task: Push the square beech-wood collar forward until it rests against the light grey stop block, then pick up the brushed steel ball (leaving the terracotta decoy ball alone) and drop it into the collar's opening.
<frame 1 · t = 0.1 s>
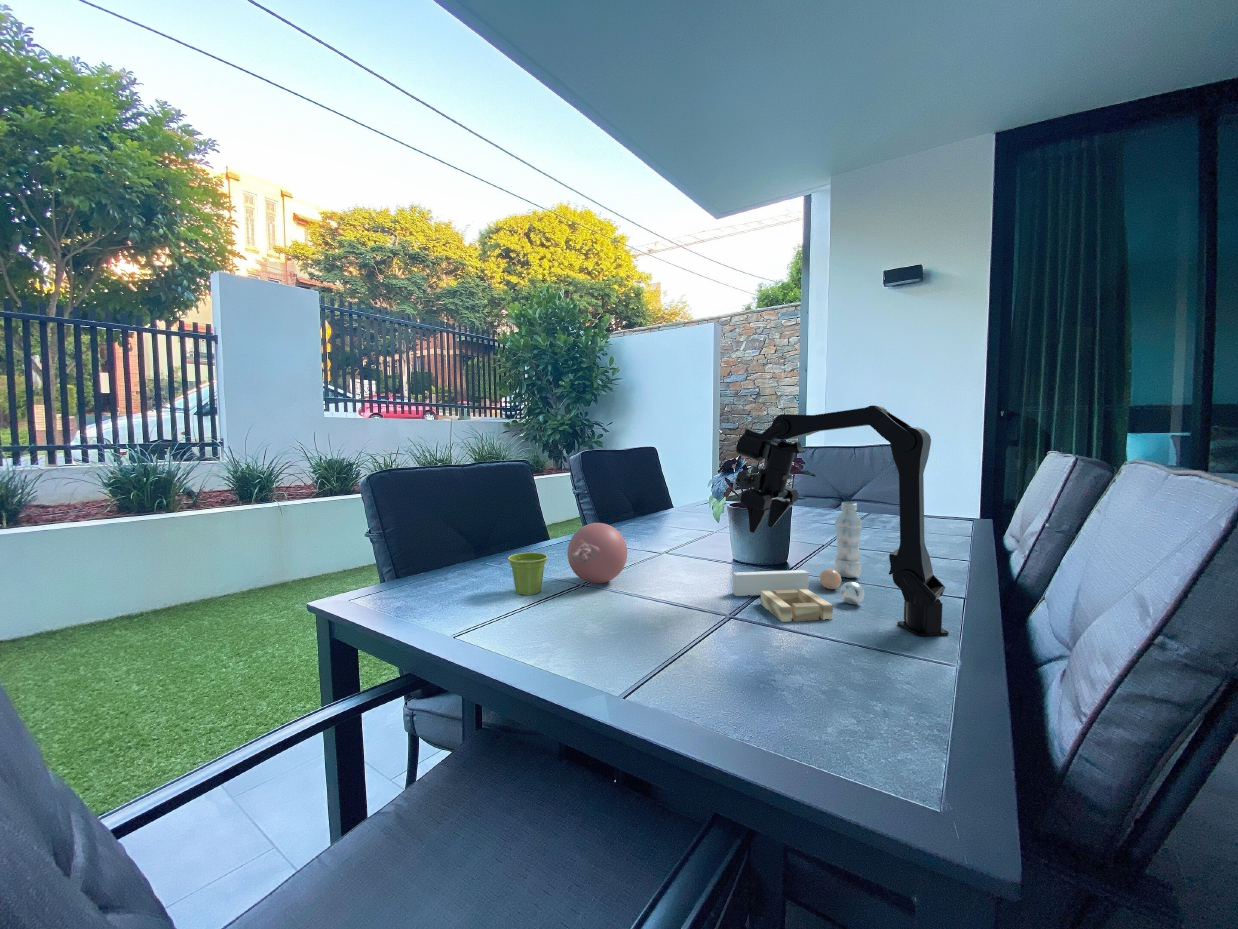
hand: (761, 529, 123), 15 cm above the table, tool pointing down, fingers open, 9 cm apart
plastic bottle: (847, 577, 137), on the table
balloon: (592, 585, 131), on the table
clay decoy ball: (830, 578, 127), point 2 cm above the table
steel ball: (852, 592, 116), point 2 cm above the table
plant pot: (528, 592, 125), on the table
beech collar: (794, 611, 111), on the table
stop block: (770, 593, 124), on the table
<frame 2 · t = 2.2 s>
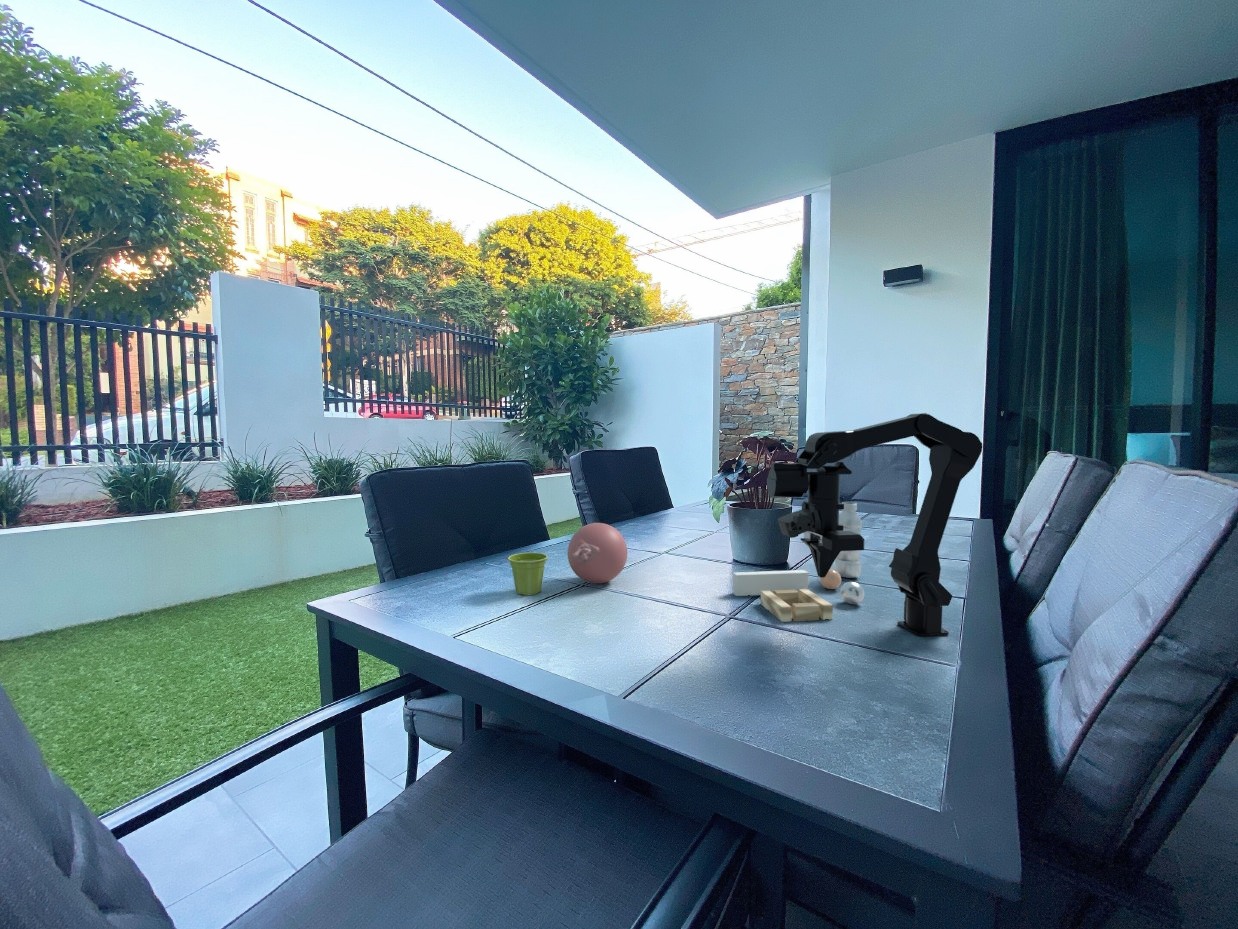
hand: (821, 576, 100), 11 cm above the table, tool pointing down, fingers closed
nothing on the table moved.
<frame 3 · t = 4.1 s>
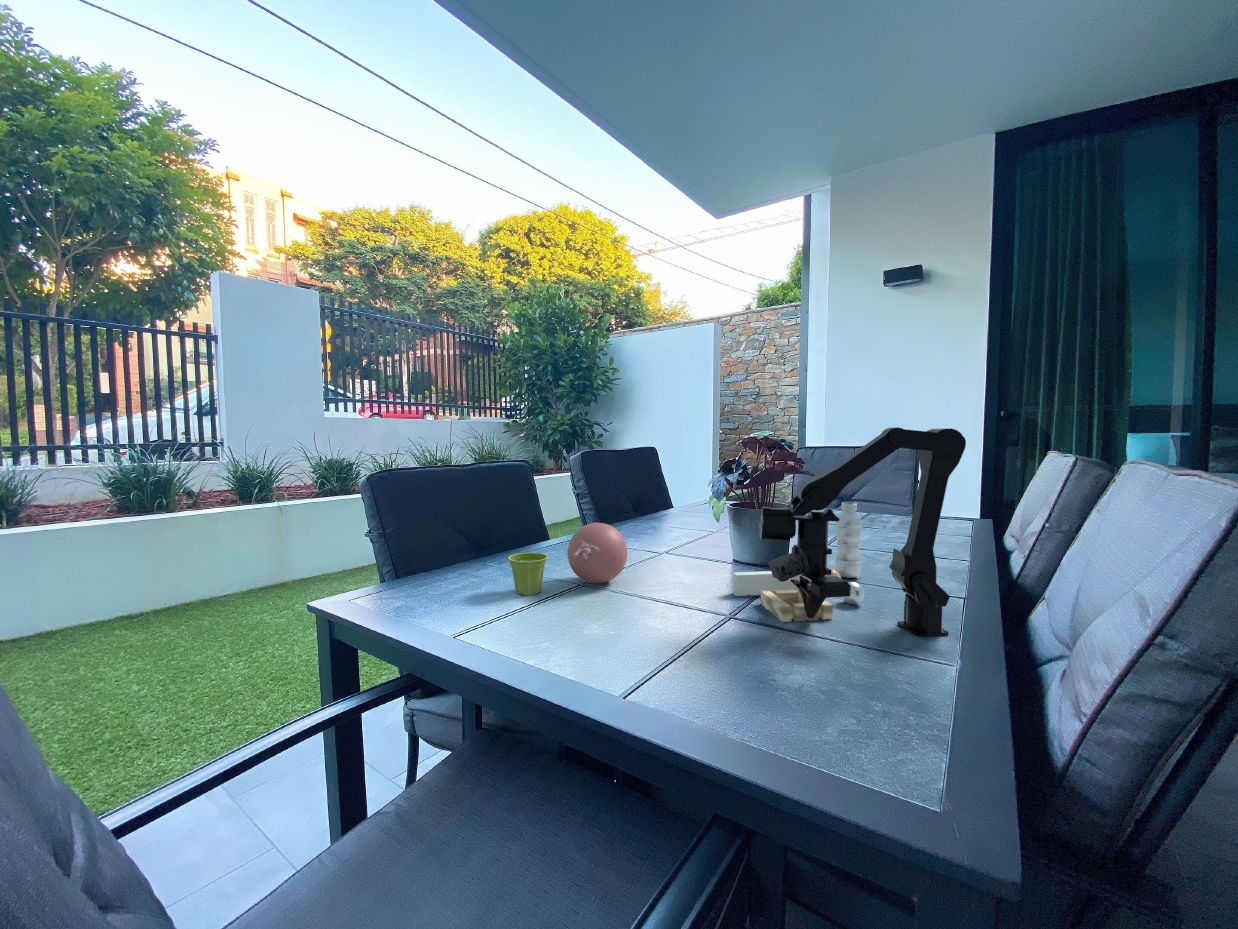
hand: (810, 617, 105), 1 cm above the table, tool pointing down, fingers closed
beech collar: (794, 611, 111), on the table, touching gripper
everything else where it was.
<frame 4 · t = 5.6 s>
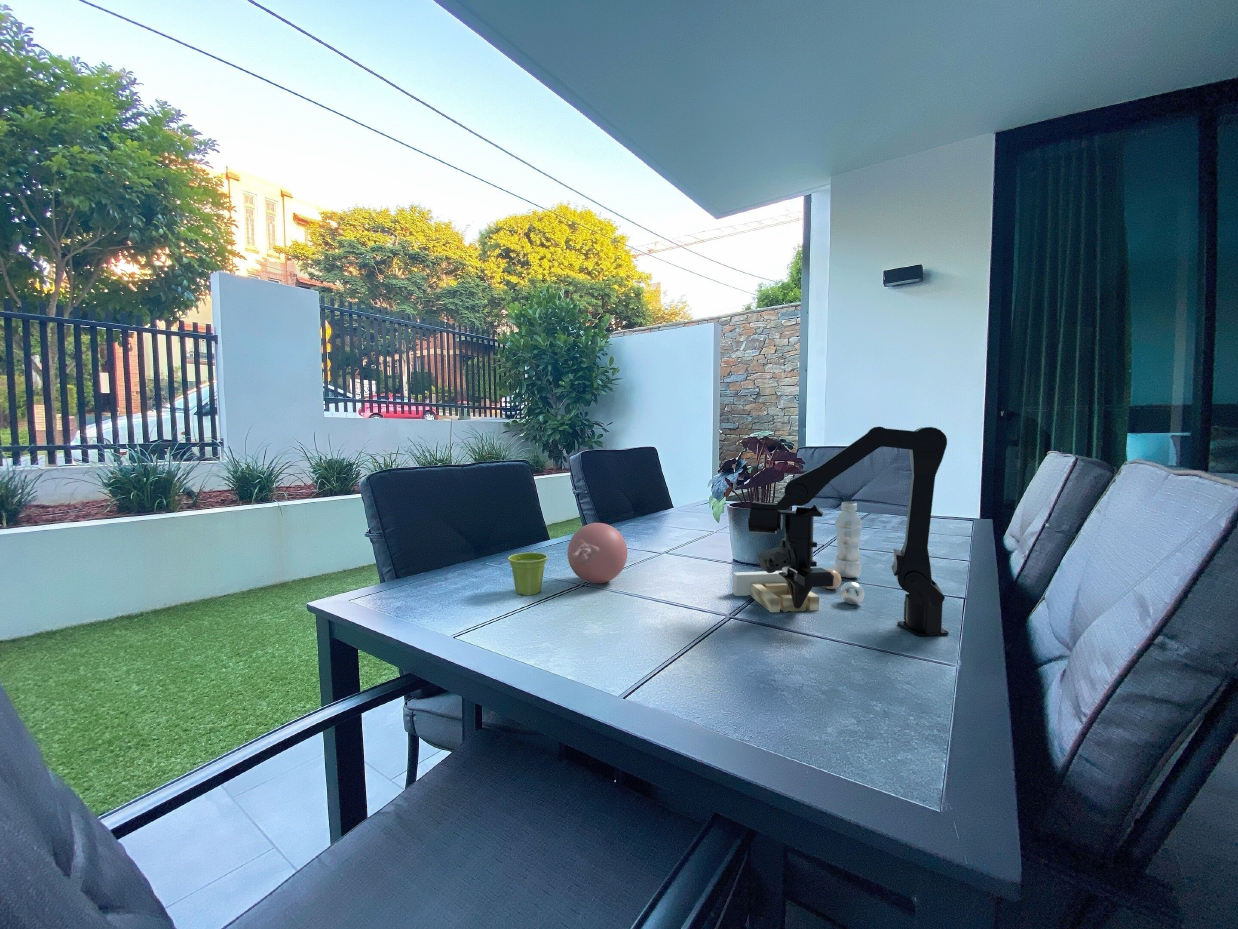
hand: (797, 608, 110), 1 cm above the table, tool pointing down, fingers closed
beech collar: (783, 602, 117), on the table, touching gripper
everything else where it was.
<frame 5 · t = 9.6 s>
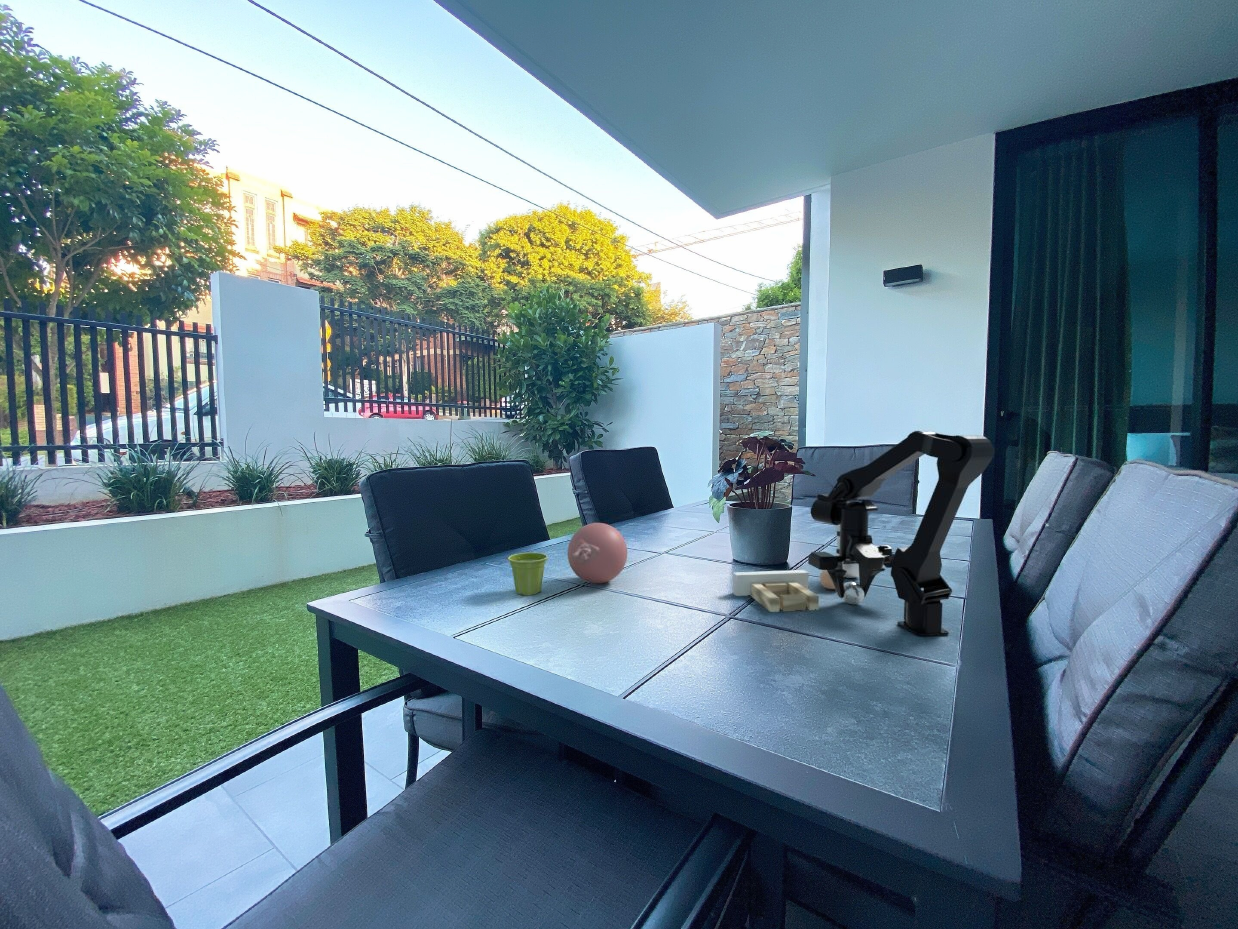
hand: (851, 597, 116), 2 cm above the table, tool pointing down, fingers closed on steel ball, 5 cm apart
steel ball: (852, 593, 116), point 2 cm above the table, touching gripper
beech collar: (783, 602, 117), on the table
everything else where it was.
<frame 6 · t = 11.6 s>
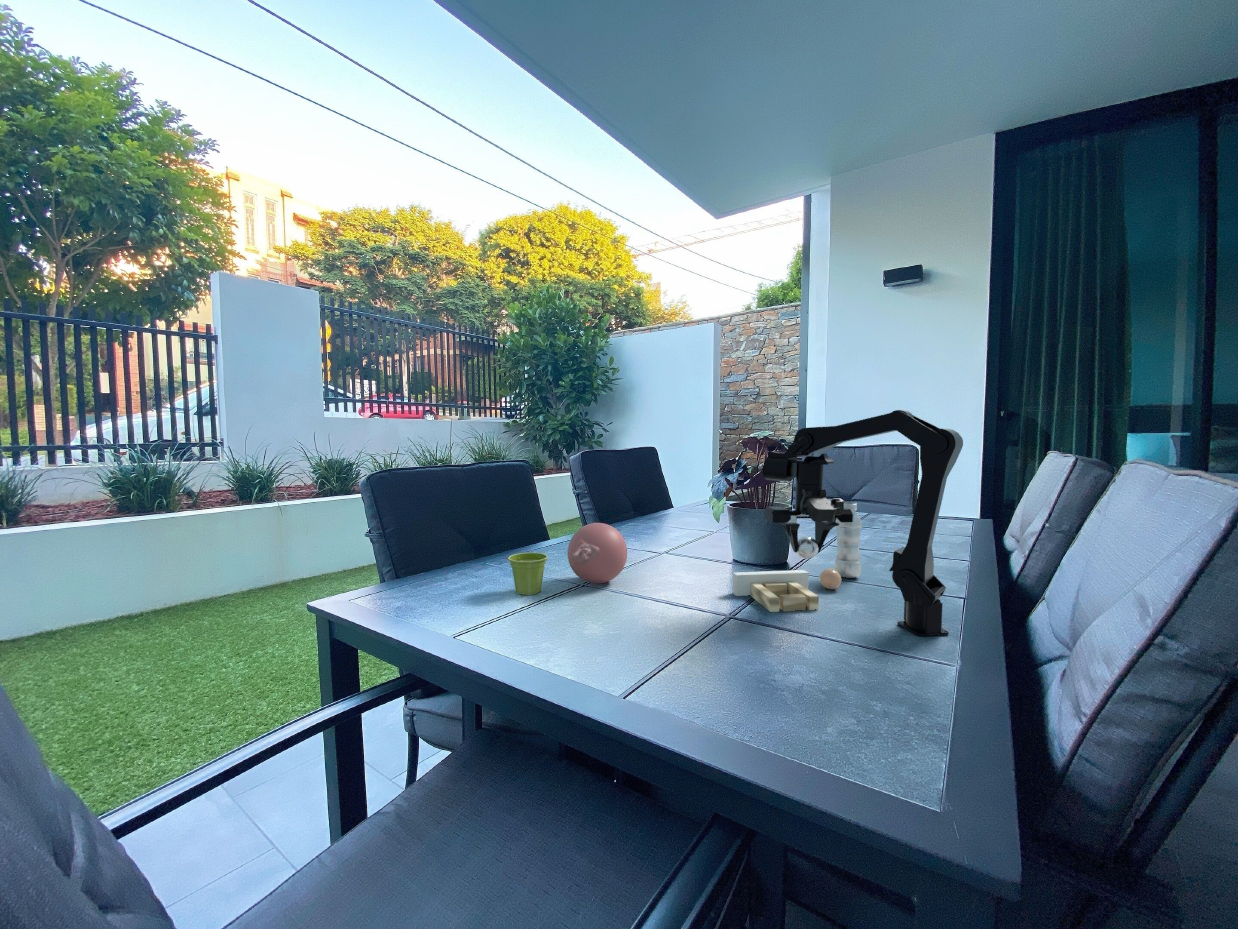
hand: (806, 552, 117), 12 cm above the table, tool pointing down, fingers closed on steel ball, 5 cm apart
steel ball: (806, 547, 117), point 13 cm above the table, touching gripper
everything else where it was.
when the fingers open (4 cm above the table, at t = 13.6 s): steel ball drops 3 cm, point 2 cm above the table.
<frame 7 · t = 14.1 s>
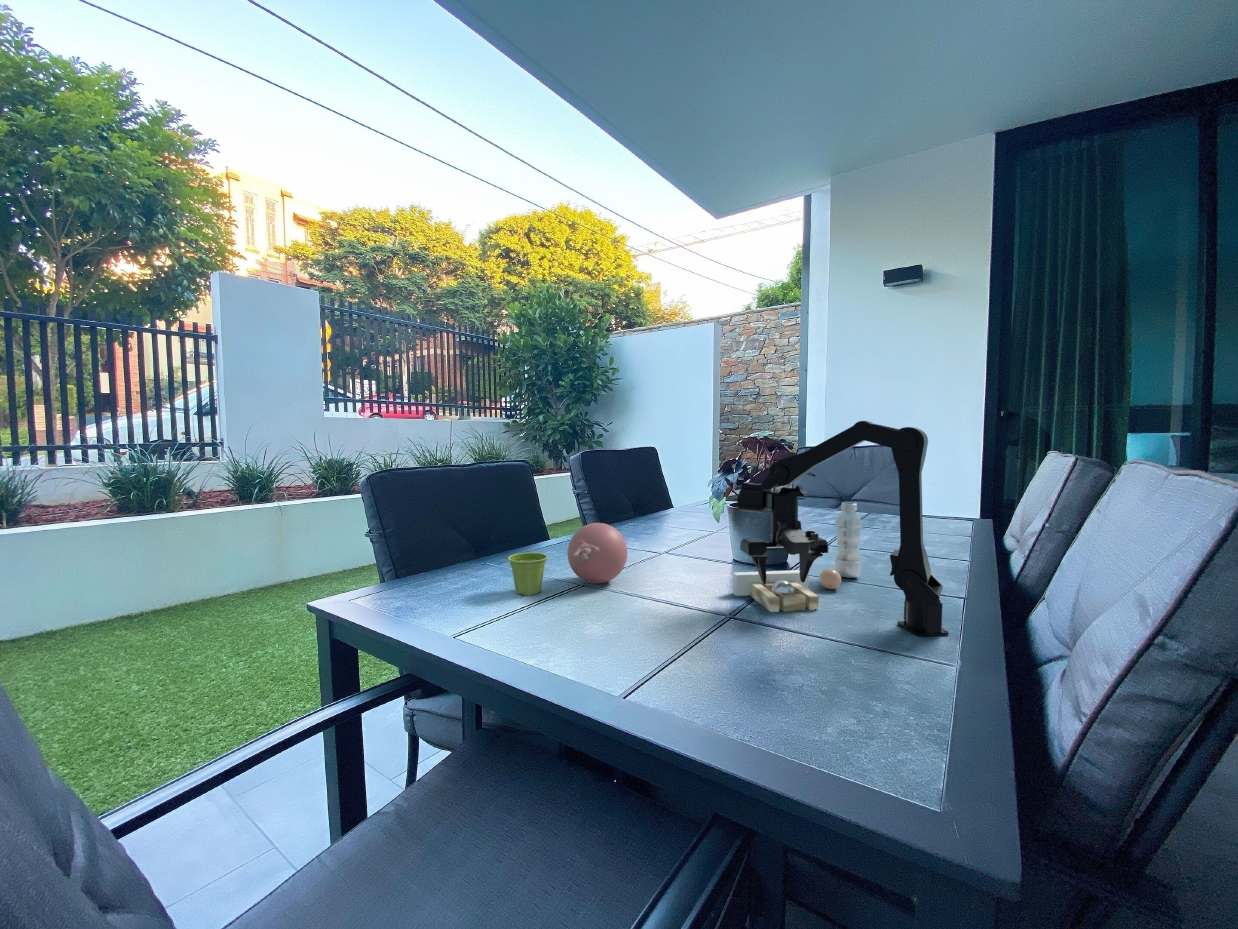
hand: (783, 582, 117), 4 cm above the table, tool pointing down, fingers open, 9 cm apart
steel ball: (782, 591, 117), point 2 cm above the table
everything else where it was.
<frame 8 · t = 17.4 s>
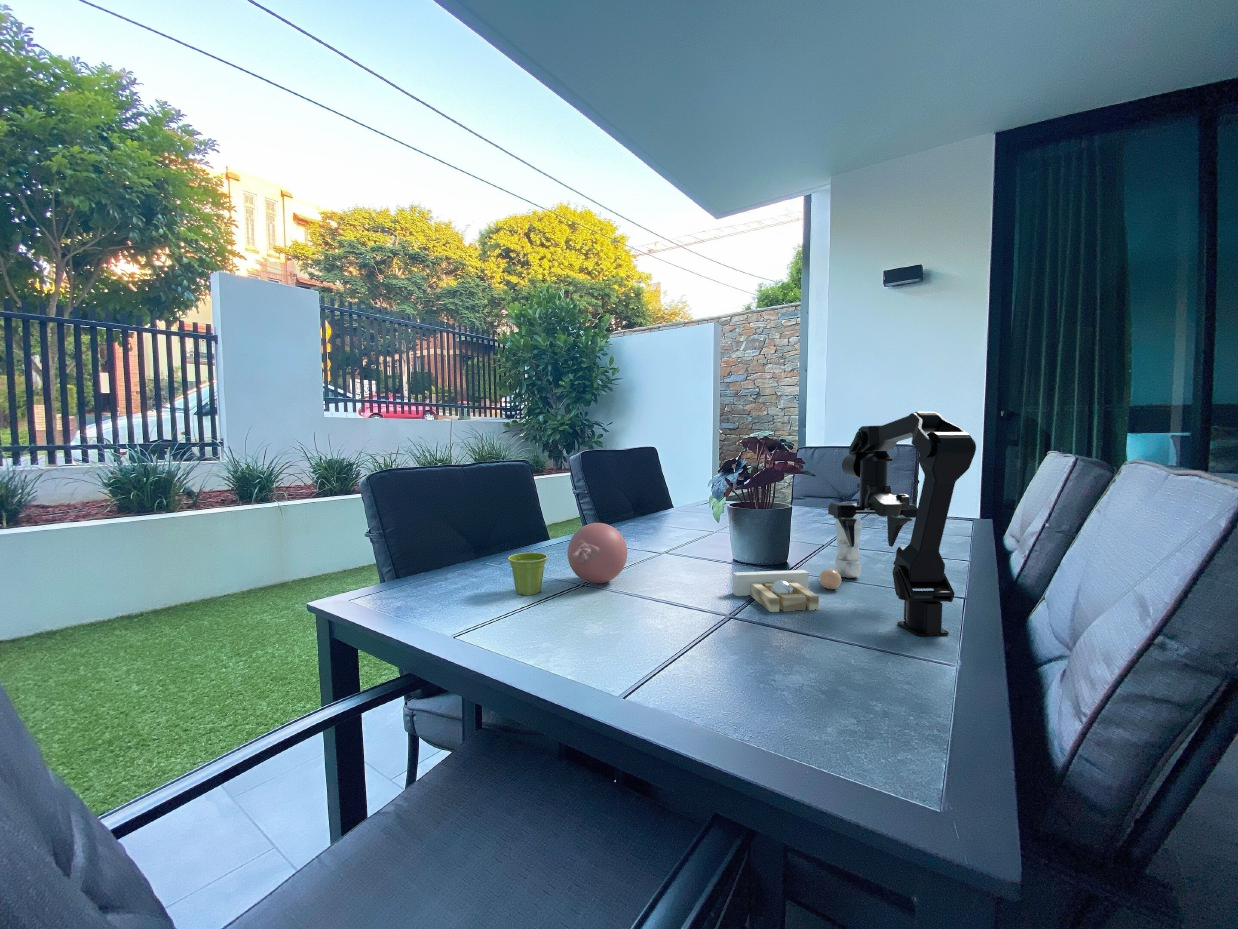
hand: (871, 546, 120), 12 cm above the table, tool pointing down, fingers open, 9 cm apart
steel ball: (781, 591, 117), point 2 cm above the table, tilted 6°
everything else where it was.
at the end: beech collar 0.1 cm from the target spot, on the table; steel ball 0.4 cm off-centre on the beech collar, point 2.5 cm above the beech collar's base; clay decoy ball moved 0.0 cm from its start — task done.
